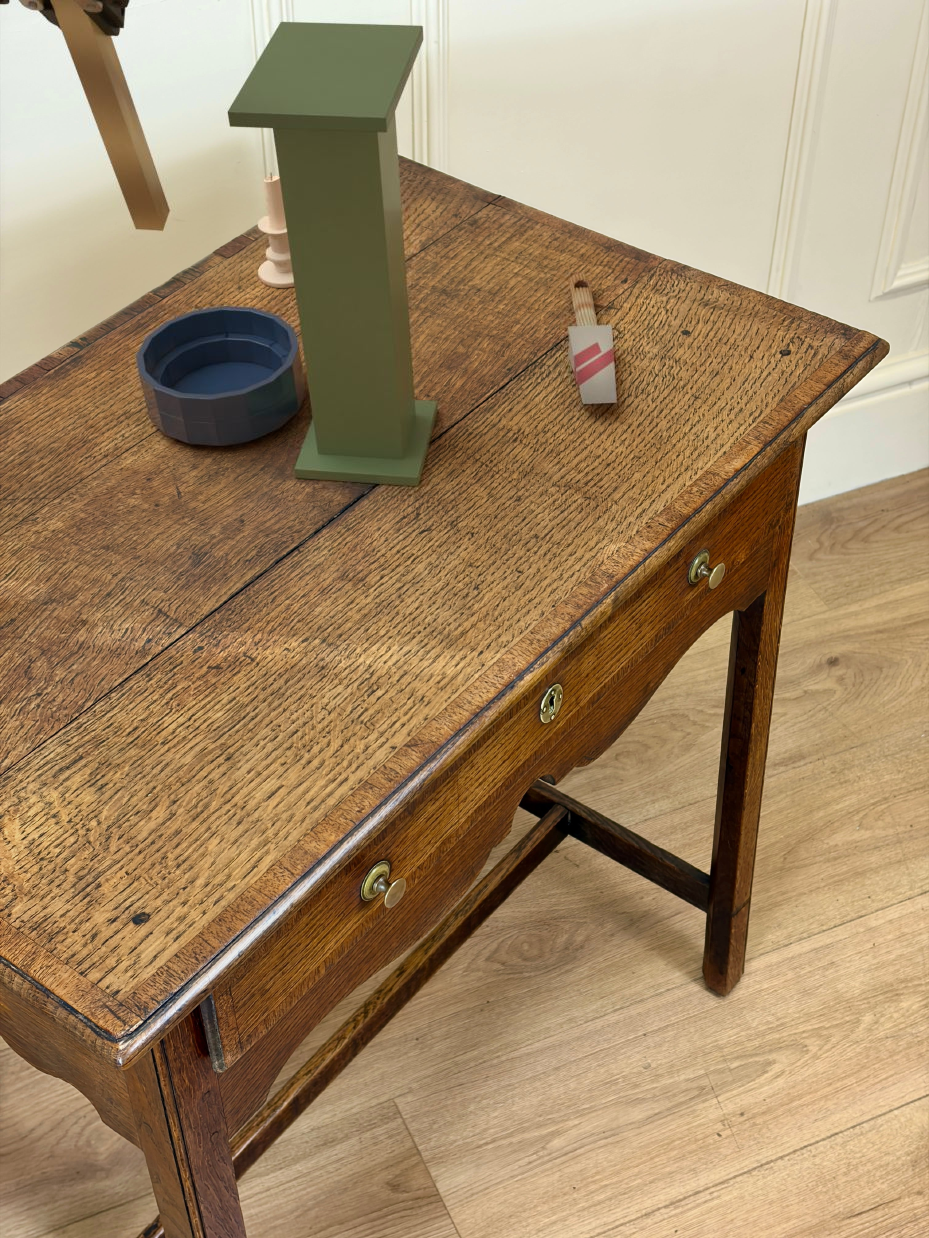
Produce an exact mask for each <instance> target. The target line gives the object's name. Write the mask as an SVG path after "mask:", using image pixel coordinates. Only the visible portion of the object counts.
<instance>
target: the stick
mask: <svg viewBox="0 0 929 1238" xmlns="http://www.w3.org/2000/svg"><path fill="white" fill-rule="evenodd" d="M50 1H51V4H52V5H53V8H54V11H55V13H56V17H57V20H58V22H59V25H60V28H61V30H62V31H61V30H60V31H61V33H62V36H63V38H64V40H65V44H66V47H67V49H68V51H69V55H70V57H71V60H72V63H73V66H74V67H75V70H76V73H77V75H78V78H79V81H80V85H81V86H82V89H83V92H84V95H85V97H86V99H87V102H88V106H89V108H90V110H91V113H92V116H93V118H94V122H95V124H96V127H97V130H98V132H99V135H100V137H101V141H102V142H103V146H104V148H105V151H106V153H107V156H108V159H109V161H110V164H111V167H112V169H113V172H114V174H115V175H114V176H115V177H116V180H117V183H118V187H119V188H120V191H121V194H122V197H123V199H124V201H125V202H124V203H125V204H126V208H127V210H128V212H129V215H130V218H131V220H132V224H133V227H134V228H135V229H136V230H143V231H157V232H158V231H159V232H160V231H162V232H163V231H164V229H165V226H166V224H167V220H168V217H169V215H170V211H171V209H170V206H169V203H168V201H167V197H166V195H165V191H164V189H163V185H162V184H161V180H160V177H159V174H158V171H157V169H156V165H155V162H154V160H153V156H152V153H151V150H150V148H149V145H148V141H147V138H146V136H145V132H144V130H143V127H142V124H141V120H140V117H139V115H138V112H137V109H136V106H135V103H134V100H133V97H132V94H131V91H130V88H129V85H128V83H127V79H126V75H125V74H124V71H123V67H122V65H121V62H120V58H119V55H118V52H117V50H116V47H115V43H114V41H113V38H112V37H113V36H106V35H105V33H104V32H103V31H102V30H101V29H100V28H99V27H98V26H97V25H96V24H95V22H94V21H93V20H92V19H91V18H90V17H89V16H88V15H87V14H86V13H85V12H84V11H83V9H82V8H81V7H80V6H79V5H78V4H77V3H76V2H75V1H74V0H50Z"/></svg>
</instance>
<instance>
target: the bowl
mask: <svg viewBox="0 0 929 1238" xmlns="http://www.w3.org/2000/svg"><path fill="white" fill-rule="evenodd" d="M135 359H136V364H137V365H136V366H137V373H138V377H139V380H140V381H139V382H140V385H141V388H142V393H143V397H144V400H145V405H146V409H147V413H148V417H149V420H150V421H151V422H152V423H153V424H154V425H155V426H156V427H157V428H158V429H159V430H160V431H161V432H162V433H163V434H164V435H165V436H168V437H171V438H172V439H176V440H178V441H181V442H184V443H186V444H189V445H201V446H208V447H209V446H210V447H222V446H223V447H224V446H234V445H241V444H244V443H247V442H248V443H249V442H252V441H255V440H257V439H260V438H262V437H264V436H266V435H268V434H269V433H273V432H274V431H277V430H279V429H280V428H282V427H283V426H284V425H285V424H286V423H288V421H290V420H291V419H292V418H293V417H294V416H295V415H296V414H297V413H298V412H299V411H300V408H301V406H302V403H303V400H304V397H305V395H306V393H307V391H306V385H305V384H306V383H305V379H304V378H305V376H304V371H303V363H302V355H301V348H300V344H299V340H298V337H297V334H296V330H295V329H294V327H293V326H291V325H290V324H289V323H287V322H286V321H285V320H284V319H283V318H282V317H280V316H279V315H278V314H276V313H275V314H274V313H271V312H268V311H266V310H265V311H264V310H262V309H259V308H256V307H247V306H231V305H221V306H215V307H208V308H202V309H196V310H192V311H190V312H187V313H184V314H182V315H179V316H176V317H175V318H171V319H169V320H167V321H165V322H163V323H162V324H161V325H160V326H158V327H157V328H156V329H154V330H153V331H152V332H150V333H149V334H148V335H146V336H145V338H144V340H143V342H142V344H141V345H140V347H139V349H138V350H137V353H136V355H135Z"/></svg>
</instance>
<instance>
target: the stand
mask: <svg viewBox="0 0 929 1238" xmlns="http://www.w3.org/2000/svg"><path fill="white" fill-rule="evenodd" d="M423 42H424V26H423V25H415V24H413V25H412V24H411V25H410V24H408V25H406V24H380V23H379V24H377V23H376V24H375V23H374V24H373V23H341V22H338V23H336V22H307V21H306V22H305V21H304V22H303V21H299V22H298V21H280V22H279V24H278V26H277V28H276V29H275V31H274V33H273V34H272V35H271V38H270V39H269V41H268V42H267V44H266V46H265V48H264V50H263V51H262V53H261V54H260V56H259V58H257V59H258V60H257V61H256V63H255V64H254V66H253V68H252V70H251V72H250V73H249V75H248V77H247V78H246V80H245V81H244V83H243V84H242V87H241V88H240V89H239V91H238V93H237V95H236V96H235V98H234V100H233V102H232V103H231V105H230V106H229V108H228V109H227V119H228V123H229V127H231V128H252V129H253V128H255V129H257V128H258V129H272V133H273V140H274V146H275V154H276V161H277V162H276V163H277V169H278V176H279V177H280V185H281V192H282V199H283V206H284V214H285V221H286V228H287V235H288V242H289V250H290V257H291V264H292V271H293V278H294V292H295V293H294V294H295V301H296V306H297V314H298V321H299V328H300V335H301V342H302V350H303V356H304V363H305V372H306V378H307V386H308V392H309V399H310V409H311V415H312V418H311V421H310V424H309V427H308V429H307V432H306V435H305V437H304V440H303V443H302V446H301V449H300V450H299V451H300V452H299V454H298V457H297V460H296V463H295V465H294V467H293V470H294V477H295V479H306V480H317V481H318V480H319V481H332V482H345V483H346V482H347V483H348V482H349V483H361V484H374V485H375V484H376V485H389V486H402V487H403V486H405V487H419V485H420V482H421V478H422V475H423V470H424V466H425V462H426V458H427V455H428V450H429V446H430V442H431V439H432V435H433V431H434V428H435V427H434V426H435V423H436V420H437V419H436V418H437V415H438V410H439V409H438V408H439V407H438V401H436V400H421V399H416V398H415V384H414V383H415V382H414V371H413V369H414V367H413V354H412V353H413V352H412V339H411V324H410V311H409V309H410V308H409V295H408V282H407V281H408V280H407V268H406V252H405V237H404V221H403V207H402V195H401V194H402V193H401V180H400V178H401V177H400V176H401V175H400V163H399V148H398V133H397V120H396V110H397V108H398V106H399V102H400V100H401V98H402V95H403V93H404V90H405V87H406V85H407V83H408V80H409V77H410V74H411V73H412V70H413V67H414V65H415V62H416V60H417V57H418V55H419V52H420V50H421V47H422V45H423Z"/></svg>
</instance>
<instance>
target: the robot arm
mask: <svg viewBox="0 0 929 1238" xmlns="http://www.w3.org/2000/svg"><path fill="white" fill-rule="evenodd" d="M74 1H75V2H76V3H77V4H78V5H79V6H80V7H81V8H82V9H83V11H84V12H85V13H86V14H87V15H88V16H89V17H90V18H91V19H92V20H93V21H94V22H95V24H96V25H97V26H98V27H99V28H100V29H101V30H102V31H103V32H104V33H105V35H106V36H111V37H118V36H119V35H120V33H121V29H125V19H126V8H128V7H129V4H130V1H131V0H74ZM10 2H11V0H0V5H2V6H3V5H9V4H10ZM18 2H19V3H20V4H21V5H22V6H23V7H25V8H26V9H28V10H30V11H38V12H39V13H40V15H42V16H43V17H44V18H45V19H46V20H47V21H48V22H49V23H50V24H52V25H54V26H55V27H57V28H58V29H59V30H60V31H61V32H62V30H61V28H60V25H59V22H58V20H57V17H56V13H55V11H54V8H53V5H52V4H51V1H50V0H18Z"/></svg>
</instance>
